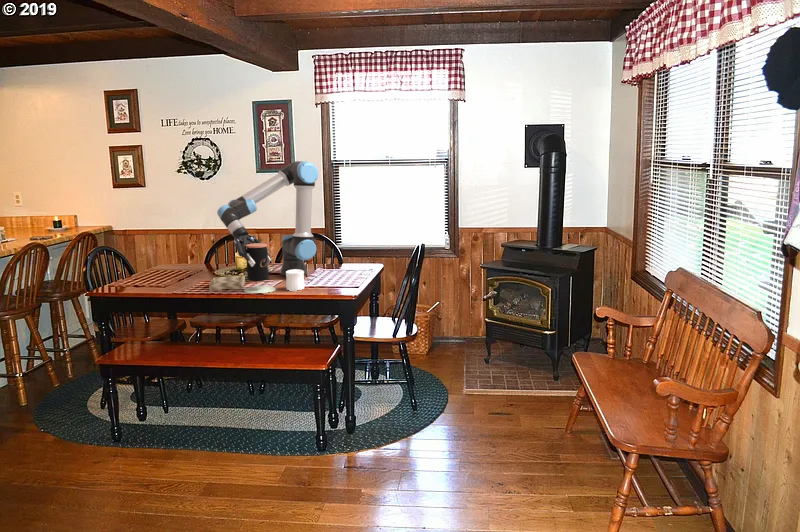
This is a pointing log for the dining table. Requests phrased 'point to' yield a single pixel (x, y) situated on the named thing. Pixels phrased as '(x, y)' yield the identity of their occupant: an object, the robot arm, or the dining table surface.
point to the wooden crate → (227, 283)
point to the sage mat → (260, 289)
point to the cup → (294, 280)
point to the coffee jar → (257, 262)
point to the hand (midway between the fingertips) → (261, 263)
